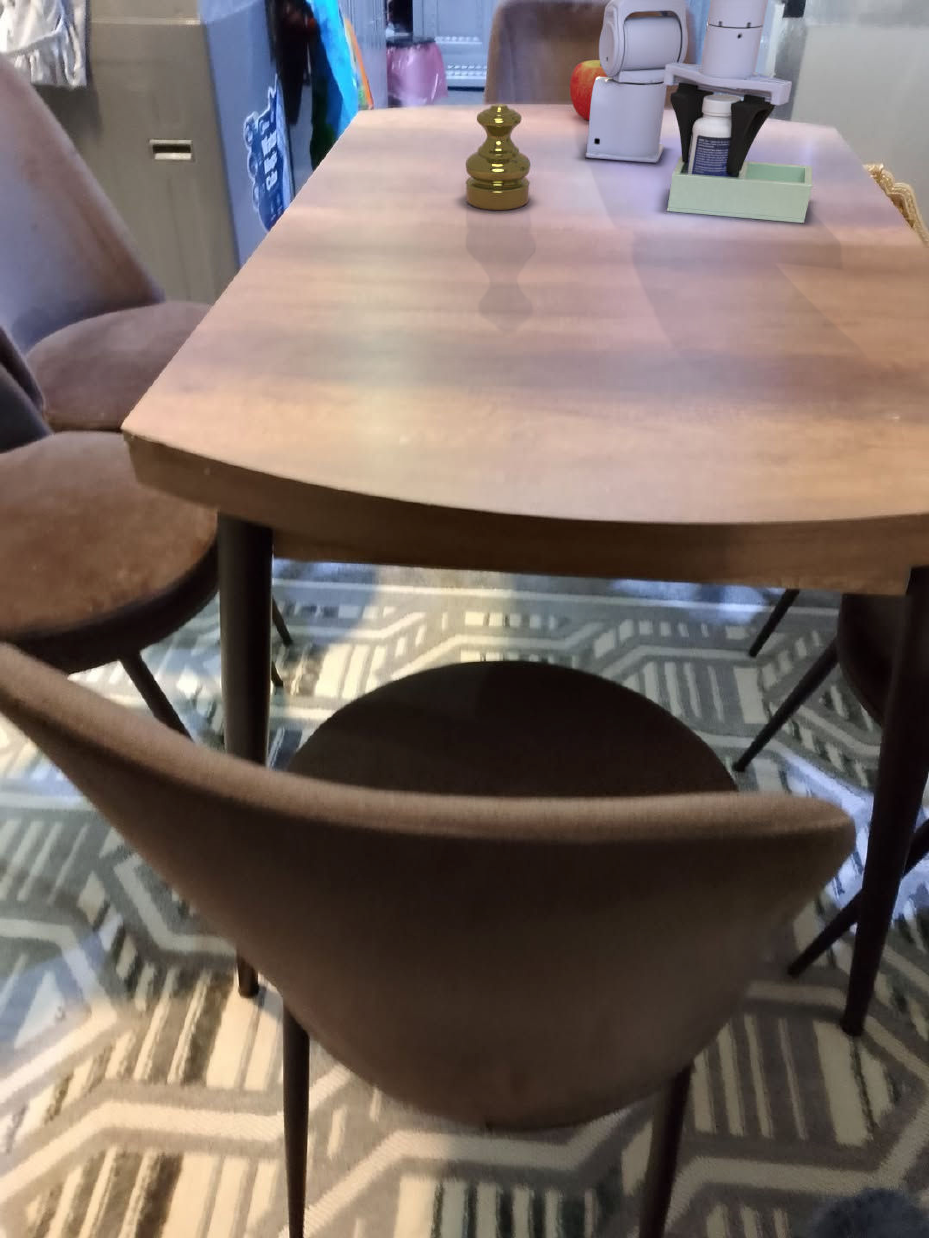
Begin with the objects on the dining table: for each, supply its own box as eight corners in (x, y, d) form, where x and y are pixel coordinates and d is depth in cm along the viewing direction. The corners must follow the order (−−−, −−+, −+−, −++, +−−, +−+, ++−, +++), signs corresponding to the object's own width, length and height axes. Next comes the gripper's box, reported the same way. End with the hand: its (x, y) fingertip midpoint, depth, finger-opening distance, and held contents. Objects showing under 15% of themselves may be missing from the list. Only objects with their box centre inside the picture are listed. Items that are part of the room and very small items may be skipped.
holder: (803, 223, 100) (812, 185, 98) (667, 211, 104) (672, 174, 101) (804, 202, 106) (812, 166, 104) (674, 191, 109) (679, 156, 107)
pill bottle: (740, 198, 104) (757, 101, 97) (698, 202, 102) (713, 105, 96) (715, 185, 107) (731, 91, 101) (675, 189, 106) (688, 94, 100)
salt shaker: (481, 215, 102) (482, 116, 96) (455, 196, 108) (455, 101, 101) (539, 206, 105) (544, 109, 98) (511, 189, 110) (514, 95, 103)
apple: (608, 129, 132) (615, 49, 126) (557, 121, 136) (561, 43, 129) (632, 118, 137) (641, 40, 131) (582, 110, 141) (588, 35, 134)
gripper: (818, 28, 92) (786, 172, 101) (698, 12, 100) (678, 147, 109) (782, 36, 89) (752, 185, 97) (660, 19, 96) (643, 158, 105)
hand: (711, 166), depth 103 cm, fingers closed on pill bottle, 5 cm apart
